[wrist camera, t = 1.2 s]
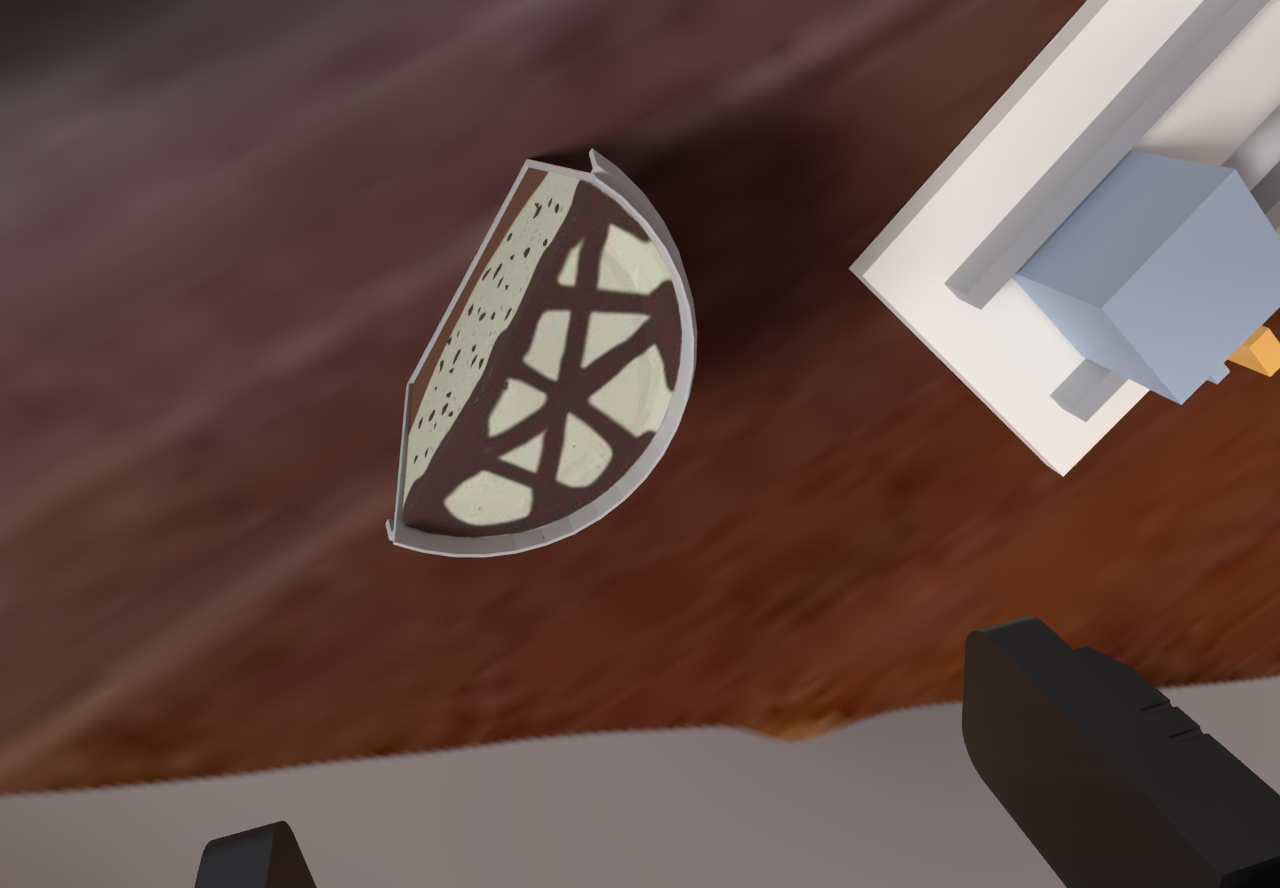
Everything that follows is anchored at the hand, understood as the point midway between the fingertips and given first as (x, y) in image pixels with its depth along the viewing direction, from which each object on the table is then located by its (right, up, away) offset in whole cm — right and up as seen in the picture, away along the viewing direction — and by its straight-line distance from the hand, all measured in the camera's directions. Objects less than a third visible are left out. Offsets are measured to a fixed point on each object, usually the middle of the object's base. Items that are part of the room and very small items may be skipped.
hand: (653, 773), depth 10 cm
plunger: (+22, +12, +26) cm, 36 cm away
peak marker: (+24, +9, +28) cm, 38 cm away
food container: (-4, +9, +23) cm, 25 cm away
